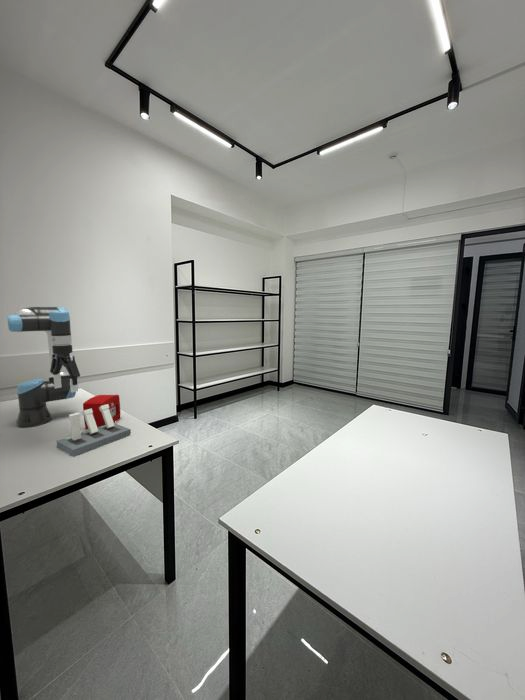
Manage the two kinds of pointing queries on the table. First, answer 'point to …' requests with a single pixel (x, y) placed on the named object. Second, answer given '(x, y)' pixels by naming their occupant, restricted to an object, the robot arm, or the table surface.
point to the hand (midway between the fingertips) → (66, 389)
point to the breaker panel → (92, 439)
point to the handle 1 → (90, 421)
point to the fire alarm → (99, 401)
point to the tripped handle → (75, 426)
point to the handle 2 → (107, 416)
